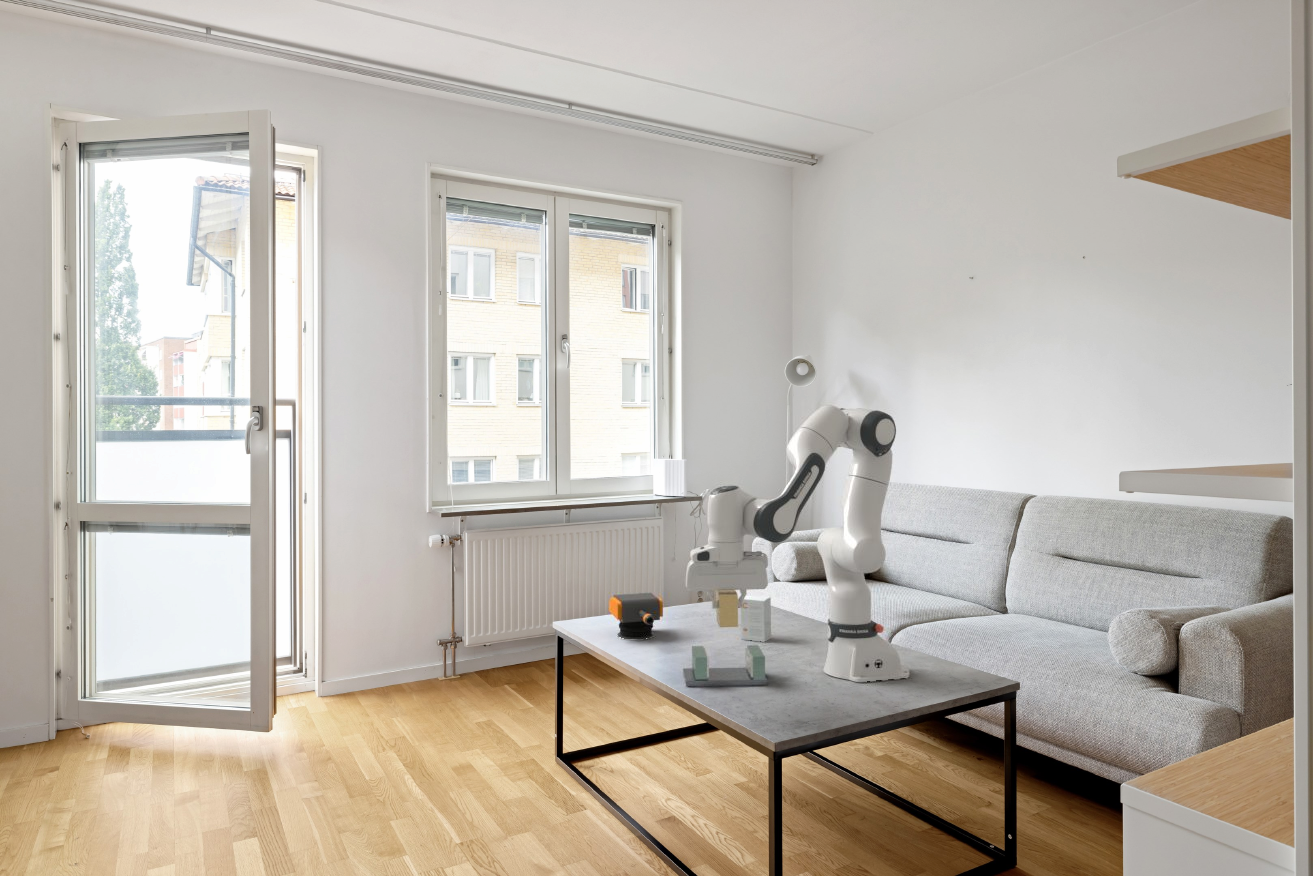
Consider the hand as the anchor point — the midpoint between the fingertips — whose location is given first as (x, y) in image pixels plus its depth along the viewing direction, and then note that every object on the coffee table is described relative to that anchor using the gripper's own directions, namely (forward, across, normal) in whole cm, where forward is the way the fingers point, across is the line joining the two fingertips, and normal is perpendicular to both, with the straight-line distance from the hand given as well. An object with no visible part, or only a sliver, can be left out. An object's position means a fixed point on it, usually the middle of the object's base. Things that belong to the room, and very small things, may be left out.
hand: (726, 607), depth 206 cm
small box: (+23, -16, -56) cm, 62 cm away
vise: (+22, 0, -14) cm, 26 cm away
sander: (+22, +21, -58) cm, 65 cm away
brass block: (+4, 0, 0) cm, 4 cm away
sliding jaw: (+20, +6, -14) cm, 26 cm away
